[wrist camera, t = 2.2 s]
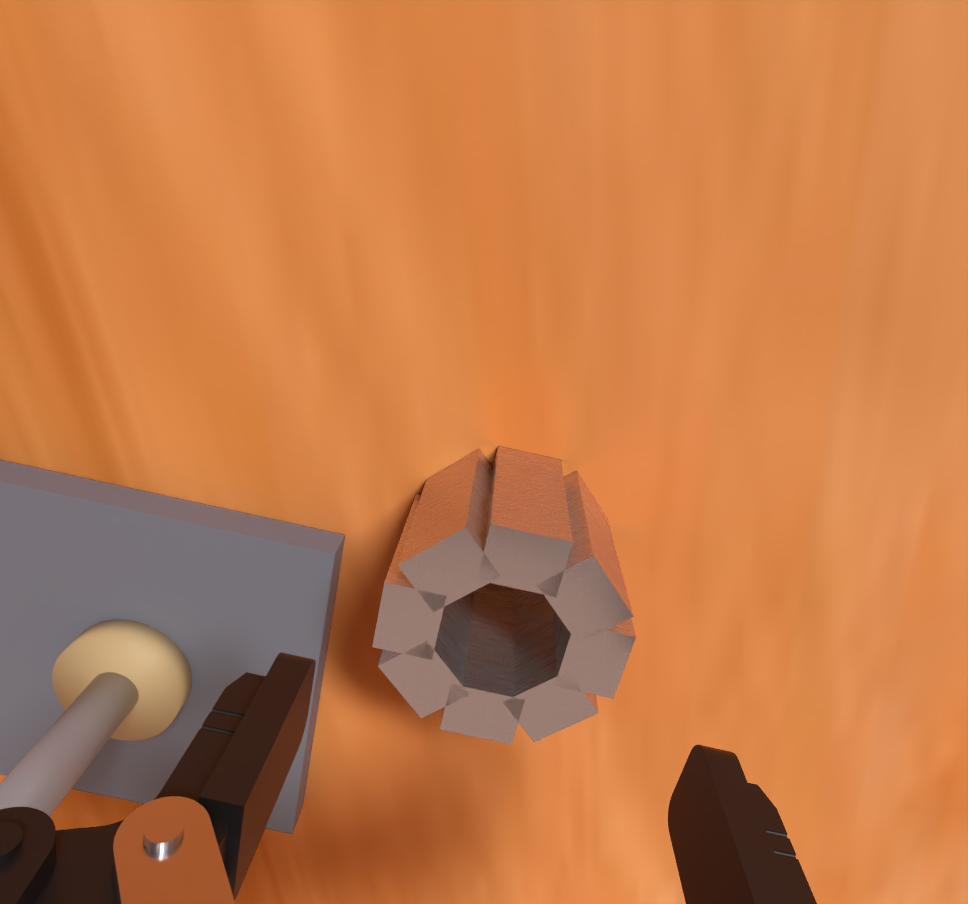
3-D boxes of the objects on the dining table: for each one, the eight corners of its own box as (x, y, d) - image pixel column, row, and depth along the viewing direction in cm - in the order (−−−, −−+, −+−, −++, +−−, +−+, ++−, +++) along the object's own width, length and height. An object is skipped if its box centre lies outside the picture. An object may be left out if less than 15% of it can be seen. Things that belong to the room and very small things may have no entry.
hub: (428, 430, 19) (399, 503, 15) (629, 475, 20) (663, 562, 15) (394, 601, 22) (359, 712, 17) (575, 640, 22) (590, 761, 17)
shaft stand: (-34, 452, 20) (-316, 581, 14) (345, 534, 21) (256, 702, 14) (-11, 741, 25) (-216, 950, 18) (302, 805, 25) (219, 1035, 18)
